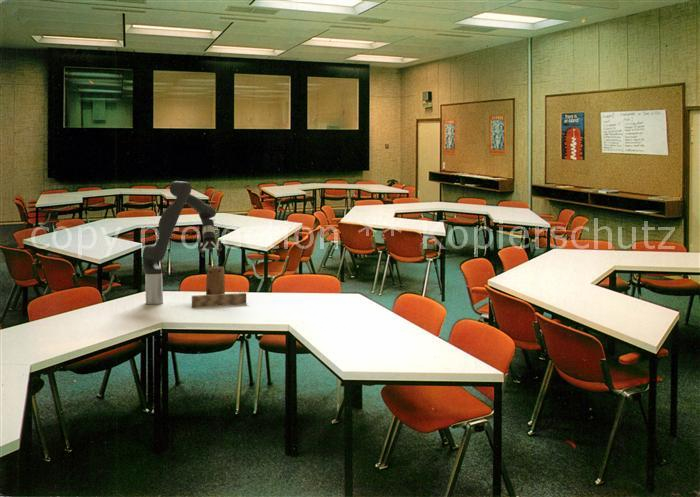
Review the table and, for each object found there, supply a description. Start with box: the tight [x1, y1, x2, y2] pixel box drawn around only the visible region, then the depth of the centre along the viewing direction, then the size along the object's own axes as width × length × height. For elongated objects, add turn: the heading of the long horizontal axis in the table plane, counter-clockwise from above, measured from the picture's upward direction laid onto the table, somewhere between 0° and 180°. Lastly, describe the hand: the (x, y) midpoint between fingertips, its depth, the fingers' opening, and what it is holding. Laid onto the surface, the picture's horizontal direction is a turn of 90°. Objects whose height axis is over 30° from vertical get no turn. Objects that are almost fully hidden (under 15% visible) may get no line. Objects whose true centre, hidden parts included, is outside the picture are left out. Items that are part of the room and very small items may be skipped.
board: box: [191, 292, 247, 308], centre depth 331 cm, size 30×3×6 cm, turn 111°
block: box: [205, 265, 226, 295], centre depth 344 cm, size 11×8×20 cm
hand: (210, 256), depth 357 cm, fingers open, 8 cm apart
